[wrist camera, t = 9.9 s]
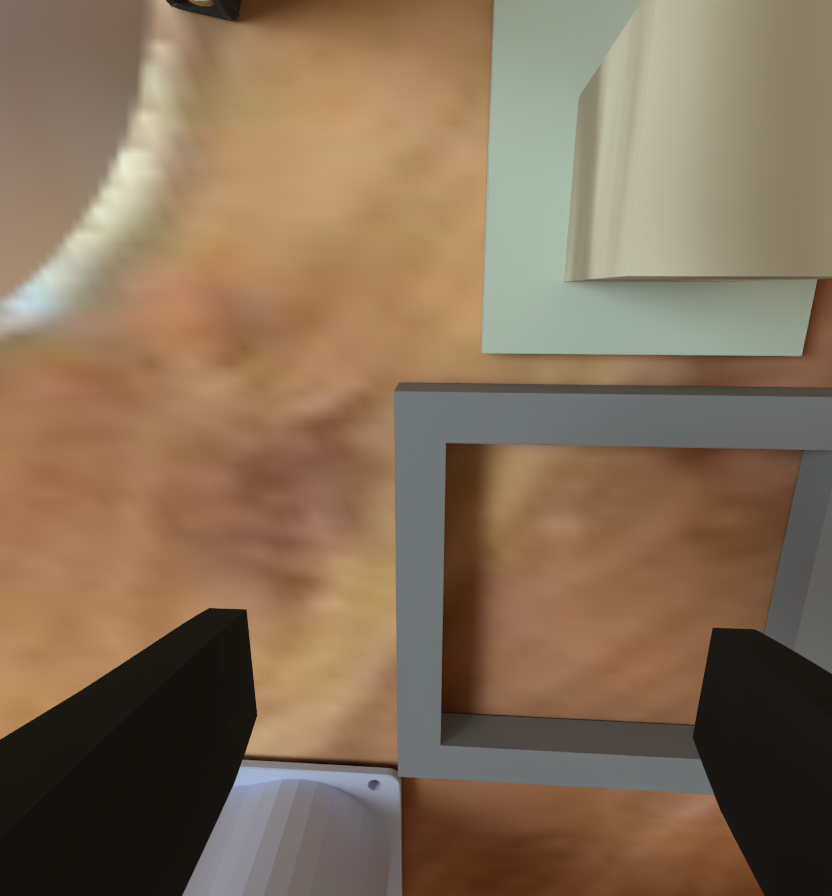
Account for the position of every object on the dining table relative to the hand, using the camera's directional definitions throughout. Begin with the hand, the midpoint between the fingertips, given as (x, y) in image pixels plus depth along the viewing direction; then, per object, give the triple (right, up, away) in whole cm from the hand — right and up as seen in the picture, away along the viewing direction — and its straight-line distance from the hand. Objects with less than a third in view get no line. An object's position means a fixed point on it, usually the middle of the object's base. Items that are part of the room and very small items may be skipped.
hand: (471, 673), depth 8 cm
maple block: (+5, +10, +6) cm, 13 cm away
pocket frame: (+6, -1, +10) cm, 11 cm away
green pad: (+6, +11, +6) cm, 14 cm away
